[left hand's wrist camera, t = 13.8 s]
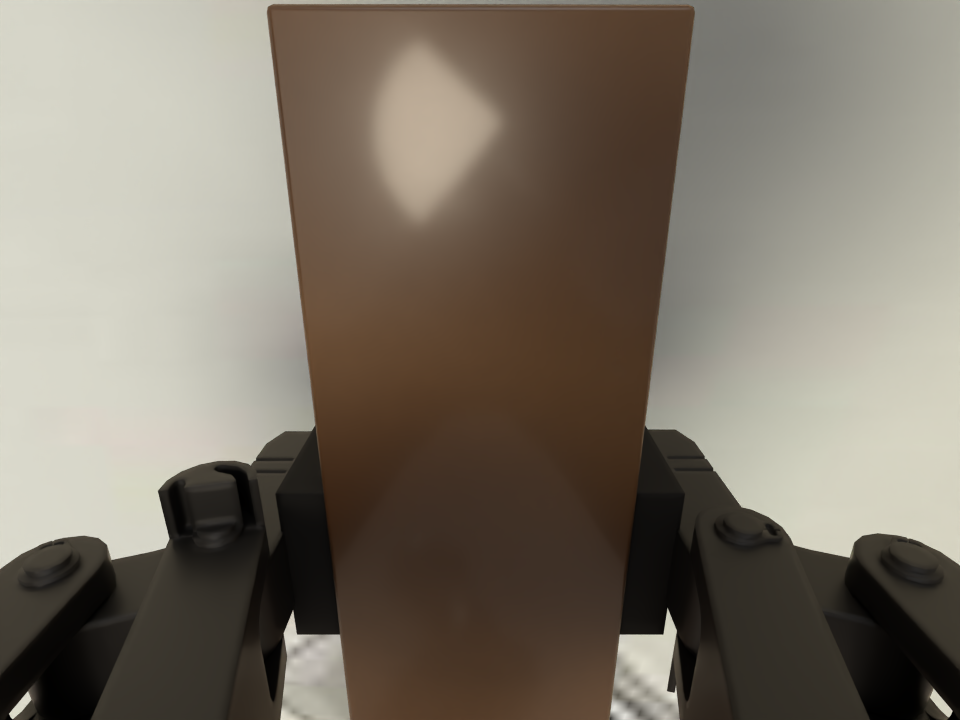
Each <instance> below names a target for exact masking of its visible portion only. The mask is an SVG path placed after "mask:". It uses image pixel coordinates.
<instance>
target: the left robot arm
mask: <svg viewBox="0 0 960 720" xmlns="http://www.w3.org/2000/svg"><path fill="white" fill-rule="evenodd" d="M158 493H159V497H160V501H161V505H162V510H163V514H164V518H165V522H166V526H167V530H168V534H169V538H170V539H169V542H168V544H167V546H166V548H164V549H161V550H157V551H153V552H149V553H144V554H139V555H134V556H129V557H125V558H120V559H115V560H111V557H110V554H109V551H108V547H107V545H106V544H105V543H104V542H103V541H101V540H100V539H99V538H94V537H88V536H77V537H68V538H62V539H57V540H54V541H50V542H47V543H44V544H41V545H39V546H38V547H36V548H34V549H32V550H29V551H27V552H25V553H23V554H21V555H20V556H18V557H17V558H15V559H14V560H12V561H11V562H10V563H8V564H7V565H5V566H4V567H3V568H1V569H0V720H280V717H281V708H282V698H283V689H284V680H285V670H286V661H287V653H286V646H285V640H284V634H283V633H284V631H285V628H286V626H287V623H288V621H289V618H290V616H291V613H292V611H294V618H295V624H296V630H297V634H340V629H339V620H338V612H337V603H336V595H335V586H334V578H333V569H332V561H331V552H330V544H329V535H328V527H327V518H326V510H325V501H324V493H323V484H322V476H321V467H320V459H319V451H318V442H317V434H316V425H315V427H314V428H313V430H312V431H285V432H284V433H282V434H281V435H279V436H278V437H276V438H275V439H273V440H271V441H270V442H268V443H267V444H266V445H265V447H264V448H263V449H262V451H261V452H260V454H259V455H258V456H257V458H256V461H254V462H253V463H252V465H251V466H250V465H249V464H246V463H242V462H237V461H216V462H211V463H206V464H201V465H198V466H195V467H192V468H190V469H187V470H184V471H182V472H180V473H179V474H177V475H175V476H174V477H172V478H170V479H169V480H167V481H166V482H165V483H164V485H163V486H162V487H161V488H160V489H159V490H158ZM667 607H668V610H669V612H670V615H671V617H672V620H673V622H674V624H675V627H676V629H677V634H676V640H675V646H674V652H673V658H672V664H671V670H670V676H669V682H668V689H667V691H669V692H674V693H675V687H676V688H677V697H678V706H679V716H680V720H960V565H958V564H957V563H956V562H954V561H953V560H951V559H950V558H948V557H947V556H945V555H944V554H943V553H941V552H939V551H937V550H935V549H933V548H931V547H929V546H927V545H924V544H923V543H921V542H919V541H916V540H913V539H907V538H906V537H902V536H897V535H887V534H878V533H877V534H871V535H865V536H862V537H861V538H859V539H858V540H857V541H856V542H854V546H853V549H852V552H851V556H850V558H848V557H843V556H838V555H833V554H828V553H823V552H818V551H813V550H809V549H805V548H801V547H798V546H794V545H793V543H792V541H791V538H790V537H789V536H788V534H787V533H786V532H785V530H784V529H783V528H782V527H781V526H780V525H778V524H777V523H776V522H774V521H773V520H772V519H770V518H769V517H767V516H765V515H762V514H760V513H758V512H755V511H753V510H750V509H746V508H742V507H741V506H740V505H739V503H738V502H737V501H736V499H735V498H734V496H733V495H732V494H731V492H730V491H729V489H728V488H727V487H726V485H725V484H724V483H723V481H722V480H721V478H720V477H719V476H718V474H717V473H716V471H713V467H712V466H711V464H710V463H709V462H708V460H707V459H705V456H704V455H703V453H702V452H701V451H700V449H699V448H698V446H697V445H696V444H695V442H694V441H692V440H690V439H689V438H687V437H686V436H684V435H683V434H681V433H680V432H678V431H677V430H648V429H647V428H646V426H645V429H644V437H643V446H642V454H641V462H640V470H639V479H638V487H637V495H636V503H635V512H634V520H633V528H632V536H631V545H630V553H629V561H628V569H627V578H626V586H625V594H624V602H623V611H622V619H621V627H620V634H663V633H664V627H665V620H666V614H667ZM933 688H934V689H935V690H936V692H937V693H938V694H939V695H940V696H941V697H942V699H943V700H944V701H945V702H946V703H947V705H948V706H949V707H950V708H951V709H952V710H953V712H952V714H951V716H950V717H947V716H946V715H945V714H944V713H943V712H942V711H941V710H940V709H939V708H938V707H937V706H936V705H935V703H934V702H933V701H932V700H931V699H930V696H931V693H932V691H933ZM27 692H29V694H30V697H31V699H32V700H31V701H30V702H29V704H28V705H27V706H26V707H25V708H24V710H23V711H22V712H21V713H20V714H18V715H17V716H16V717H15V718H14V719H12V718H11V717H10V715H9V713H10V712H11V711H12V709H13V708H14V707H15V706H16V705H17V703H18V702H19V701H20V700H21V699H22V697H23V696H24V695H25V694H26V693H27Z"/></svg>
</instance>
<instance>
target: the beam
mask: <svg viewBox="0 0 960 720" xmlns="http://www.w3.org/2000/svg"><path fill="white" fill-rule="evenodd" d="M694 16H695V11H694V7H692V6H690V5H573V4H273V5H271V6H269V7H268V9H267V18H268V26H269V35H270V43H271V52H272V60H273V69H274V77H275V86H276V94H277V103H278V111H279V120H280V128H281V137H282V145H283V154H284V162H285V171H286V179H287V188H288V196H289V205H290V213H291V222H292V230H293V238H294V247H295V255H296V264H297V272H298V281H299V289H300V298H301V306H302V315H303V323H304V332H305V340H306V349H307V357H308V366H309V374H310V383H311V391H312V400H313V408H314V417H315V425H316V434H317V442H318V451H319V459H320V467H321V476H322V484H323V493H324V501H325V510H326V518H327V527H328V535H329V544H330V552H331V561H332V569H333V578H334V586H335V595H336V603H337V612H338V620H339V629H340V637H341V646H342V654H343V663H344V671H345V680H346V688H347V696H348V705H349V713H350V720H609V718H610V710H611V702H612V693H613V685H614V677H615V669H616V660H617V652H618V644H619V635H620V627H621V619H622V611H623V602H624V594H625V586H626V578H627V569H628V561H629V553H630V545H631V536H632V528H633V520H634V512H635V503H636V495H637V487H638V479H639V470H640V462H641V454H642V446H643V437H644V429H645V421H646V413H647V404H648V396H649V388H650V380H651V371H652V363H653V355H654V347H655V338H656V330H657V322H658V314H659V305H660V297H661V289H662V281H663V272H664V264H665V256H666V248H667V239H668V231H669V223H670V215H671V206H672V198H673V190H674V181H675V173H676V165H677V157H678V148H679V140H680V132H681V124H682V115H683V107H684V99H685V91H686V82H687V74H688V66H689V58H690V49H691V41H692V33H693V25H694Z"/></svg>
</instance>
